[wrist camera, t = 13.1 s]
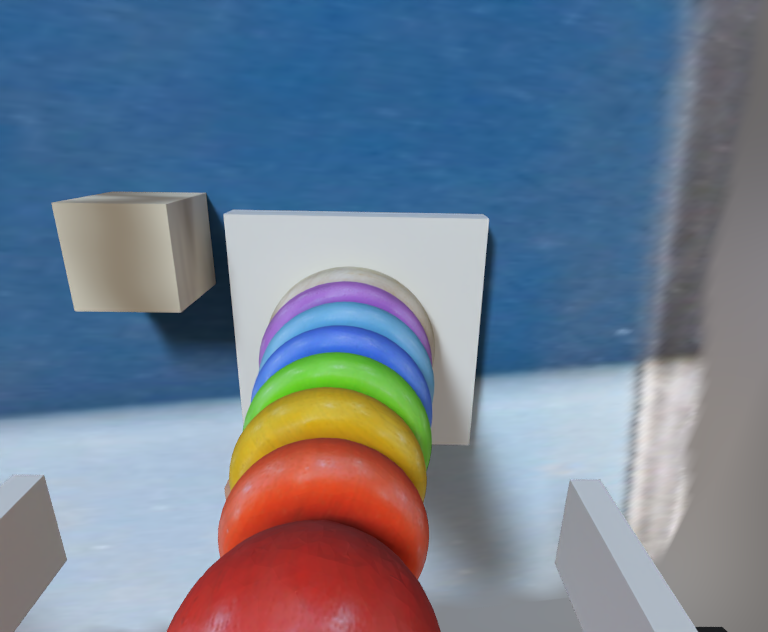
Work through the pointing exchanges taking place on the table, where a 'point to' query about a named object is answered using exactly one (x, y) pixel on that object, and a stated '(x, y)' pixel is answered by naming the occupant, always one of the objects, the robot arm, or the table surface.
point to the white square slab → (377, 252)
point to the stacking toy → (329, 469)
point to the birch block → (136, 250)
